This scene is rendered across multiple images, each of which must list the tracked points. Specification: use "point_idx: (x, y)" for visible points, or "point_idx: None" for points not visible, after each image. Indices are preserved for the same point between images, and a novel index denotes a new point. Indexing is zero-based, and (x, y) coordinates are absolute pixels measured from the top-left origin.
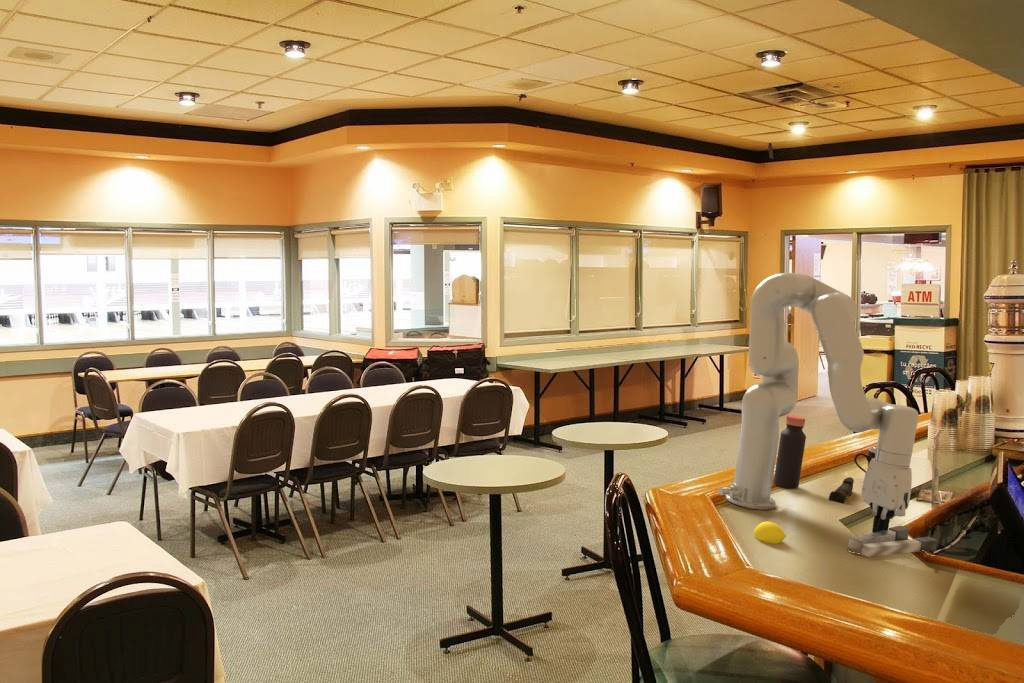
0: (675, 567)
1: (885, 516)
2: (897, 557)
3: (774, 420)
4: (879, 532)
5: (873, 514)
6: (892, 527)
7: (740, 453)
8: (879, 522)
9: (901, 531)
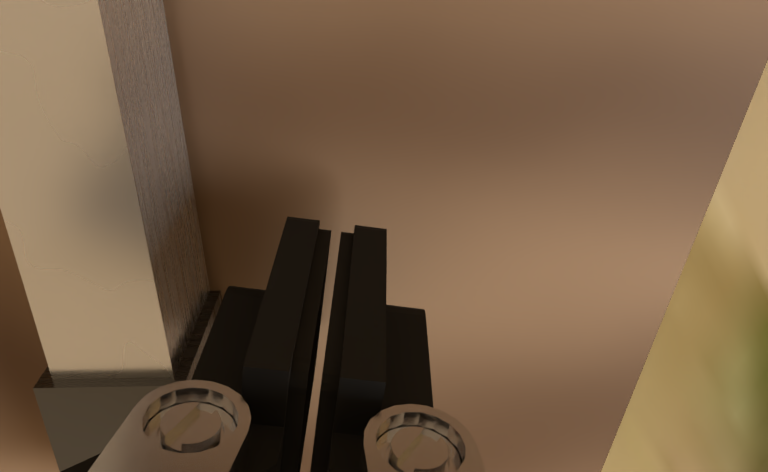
0: None
1: (118, 439)
2: None
3: None
4: (68, 31)
5: (443, 427)
6: None
7: None
8: (257, 317)
9: (66, 458)
